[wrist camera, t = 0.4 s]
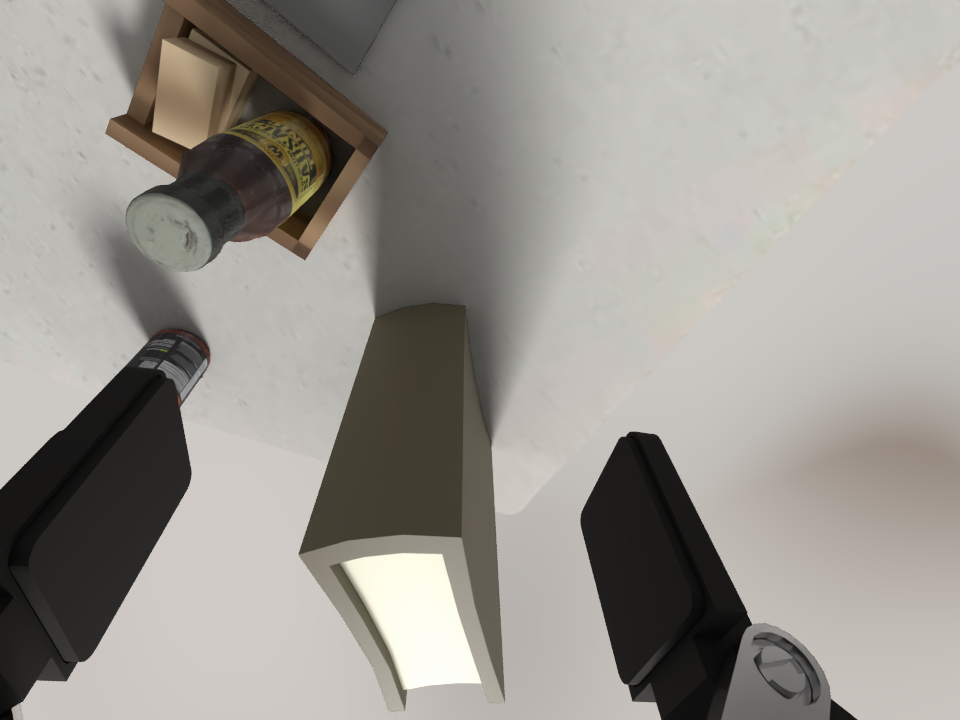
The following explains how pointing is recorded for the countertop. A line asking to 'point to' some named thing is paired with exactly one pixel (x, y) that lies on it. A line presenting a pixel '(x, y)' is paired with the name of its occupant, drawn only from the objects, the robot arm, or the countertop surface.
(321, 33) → the mat
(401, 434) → the book
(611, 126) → the countertop surface
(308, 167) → the sauce bottle
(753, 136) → the countertop surface
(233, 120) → the offcut low
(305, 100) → the tray
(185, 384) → the supplement bottle
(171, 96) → the offcut top
